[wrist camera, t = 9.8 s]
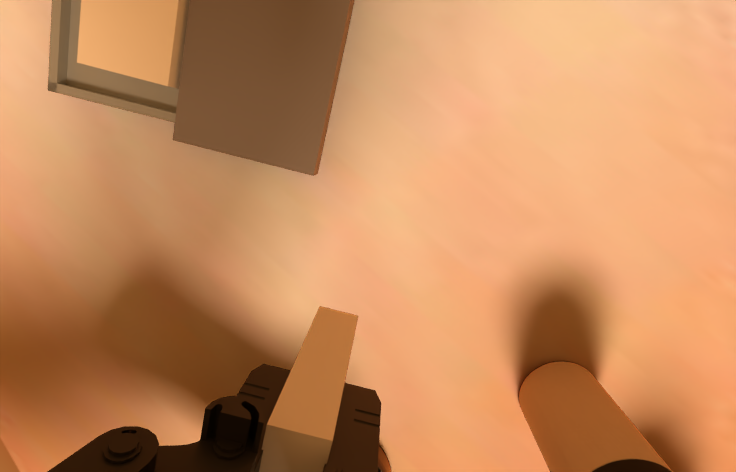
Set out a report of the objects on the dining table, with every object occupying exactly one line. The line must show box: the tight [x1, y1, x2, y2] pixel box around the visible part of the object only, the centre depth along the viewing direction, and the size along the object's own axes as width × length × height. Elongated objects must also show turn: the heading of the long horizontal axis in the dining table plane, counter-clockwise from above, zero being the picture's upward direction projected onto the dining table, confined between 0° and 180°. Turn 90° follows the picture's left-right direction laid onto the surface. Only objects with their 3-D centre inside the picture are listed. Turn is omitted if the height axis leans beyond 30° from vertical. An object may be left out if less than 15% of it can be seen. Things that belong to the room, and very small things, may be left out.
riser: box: [173, 0, 354, 176], centre depth 36 cm, size 16×13×2 cm
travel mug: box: [519, 362, 673, 472], centre depth 33 cm, size 8×8×18 cm
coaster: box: [77, 0, 190, 89], centre depth 35 cm, size 8×8×2 cm
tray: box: [48, 0, 179, 122], centre depth 36 cm, size 13×12×2 cm
